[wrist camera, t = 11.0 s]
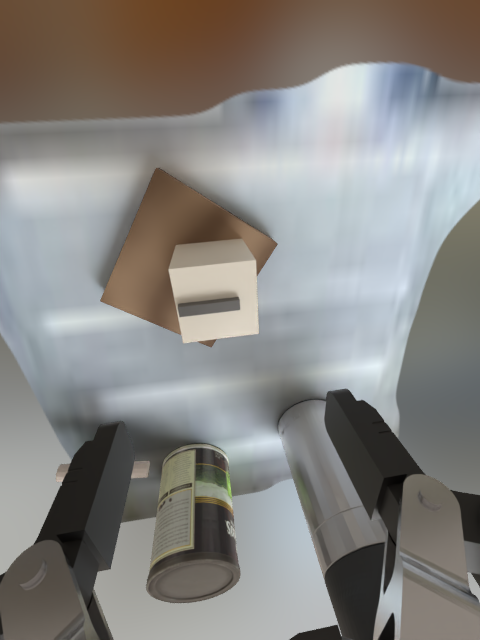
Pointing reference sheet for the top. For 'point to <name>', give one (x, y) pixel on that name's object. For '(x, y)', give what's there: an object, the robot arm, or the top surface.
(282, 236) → the top surface
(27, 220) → the top surface
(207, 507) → the coffee can
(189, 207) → the board
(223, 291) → the cream rectangular block
